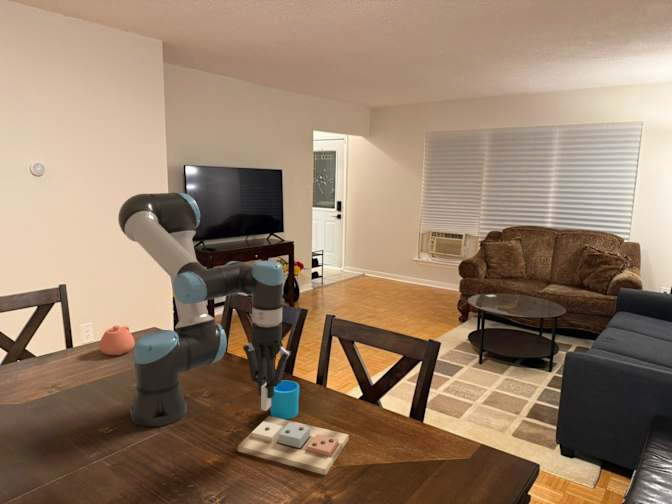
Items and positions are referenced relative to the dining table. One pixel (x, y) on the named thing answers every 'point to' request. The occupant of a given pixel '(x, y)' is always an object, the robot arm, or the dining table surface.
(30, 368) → the dining table surface
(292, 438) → the tile two
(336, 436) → the board
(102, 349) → the sugar bowl
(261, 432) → the tile one
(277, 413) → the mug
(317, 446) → the tile three
